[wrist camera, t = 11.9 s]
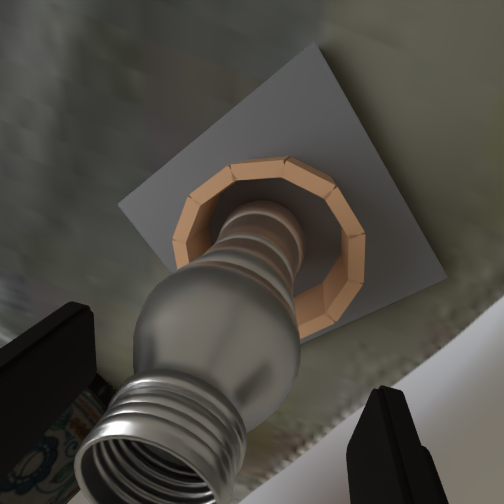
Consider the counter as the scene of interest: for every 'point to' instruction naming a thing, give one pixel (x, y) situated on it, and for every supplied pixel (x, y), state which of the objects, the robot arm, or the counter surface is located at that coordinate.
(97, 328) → the counter surface
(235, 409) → the plastic bottle
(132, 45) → the counter surface
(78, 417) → the beer stein
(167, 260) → the duct base
